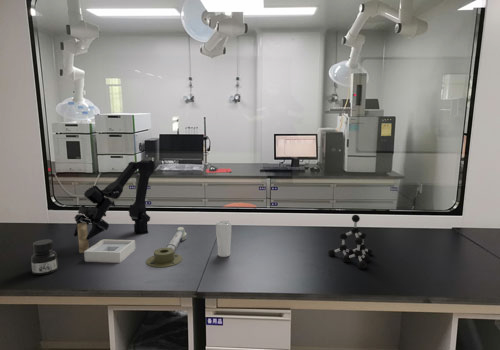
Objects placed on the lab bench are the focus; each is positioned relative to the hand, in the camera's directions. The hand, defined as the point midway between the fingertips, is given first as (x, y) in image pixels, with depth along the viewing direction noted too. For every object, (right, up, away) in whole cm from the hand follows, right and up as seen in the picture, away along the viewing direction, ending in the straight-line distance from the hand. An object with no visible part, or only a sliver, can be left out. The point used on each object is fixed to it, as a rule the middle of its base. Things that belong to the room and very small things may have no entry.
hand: (80, 237), depth 158 cm
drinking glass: (+65, -7, -3) cm, 66 cm away
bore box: (+15, -7, -3) cm, 17 cm away
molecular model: (+124, -8, -6) cm, 124 cm away
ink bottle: (-5, -10, -19) cm, 22 cm away
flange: (+40, -9, -9) cm, 42 cm away
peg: (+1, -7, +2) cm, 7 cm away
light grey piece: (+42, -6, +9) cm, 43 cm away
